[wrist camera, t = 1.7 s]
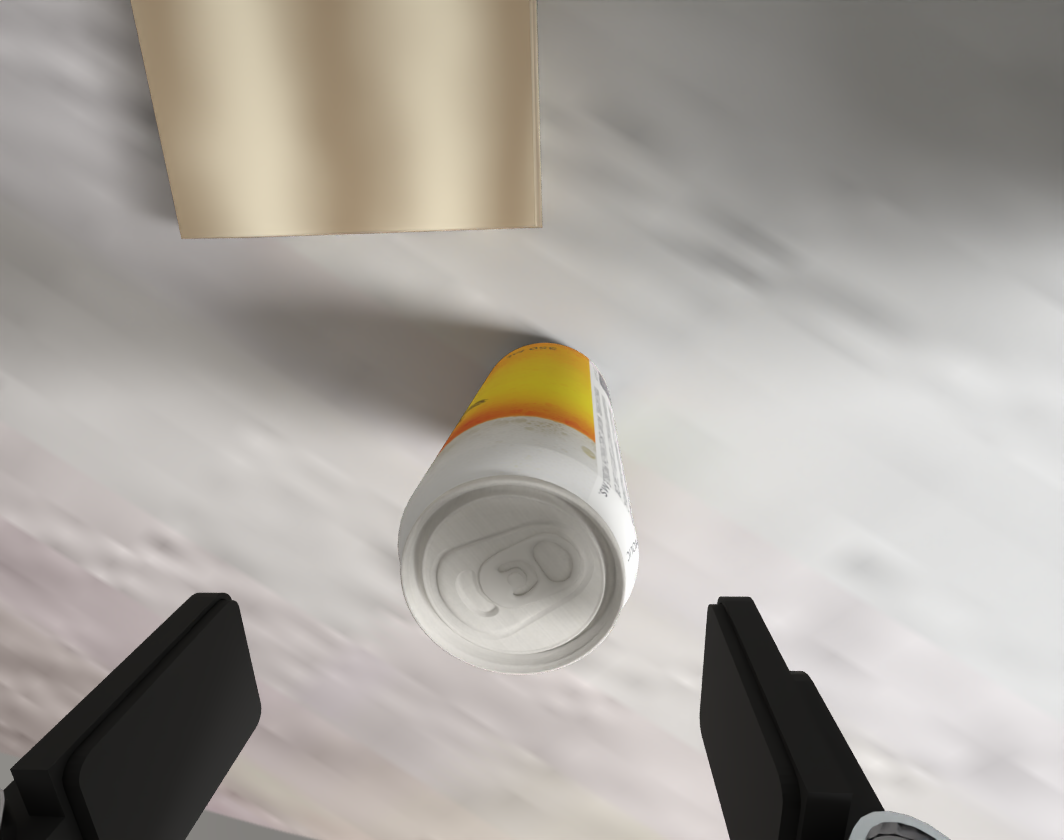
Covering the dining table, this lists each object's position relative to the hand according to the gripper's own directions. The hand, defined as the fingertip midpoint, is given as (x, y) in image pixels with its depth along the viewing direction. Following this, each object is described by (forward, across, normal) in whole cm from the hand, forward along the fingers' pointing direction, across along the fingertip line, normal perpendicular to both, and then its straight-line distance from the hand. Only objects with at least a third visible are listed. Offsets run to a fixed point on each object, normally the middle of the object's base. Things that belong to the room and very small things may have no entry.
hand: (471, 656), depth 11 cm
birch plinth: (+17, +6, -15) cm, 24 cm away
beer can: (+17, -1, 0) cm, 17 cm away
